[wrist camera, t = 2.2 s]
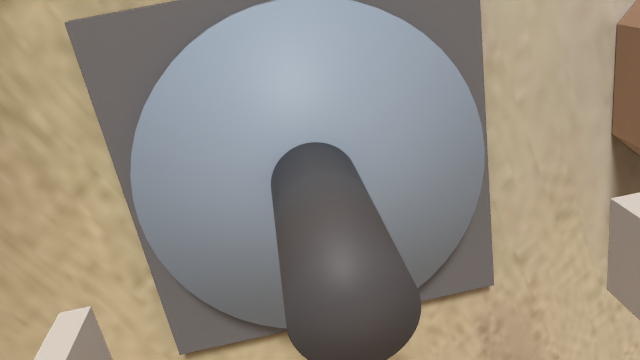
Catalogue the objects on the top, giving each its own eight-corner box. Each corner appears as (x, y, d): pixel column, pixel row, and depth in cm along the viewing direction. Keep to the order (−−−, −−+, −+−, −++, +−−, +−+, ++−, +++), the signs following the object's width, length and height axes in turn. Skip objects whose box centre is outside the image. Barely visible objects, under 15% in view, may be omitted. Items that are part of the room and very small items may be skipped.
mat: (181, 345, 24) (180, 354, 23) (69, 20, 18) (64, 22, 18) (488, 277, 25) (494, 285, 24) (470, -55, 19) (477, -56, 19)
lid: (188, 342, 23) (157, 557, 15) (85, 35, 18) (-49, 103, 10) (482, 278, 24) (607, 449, 16) (464, -37, 19) (636, -29, 10)
